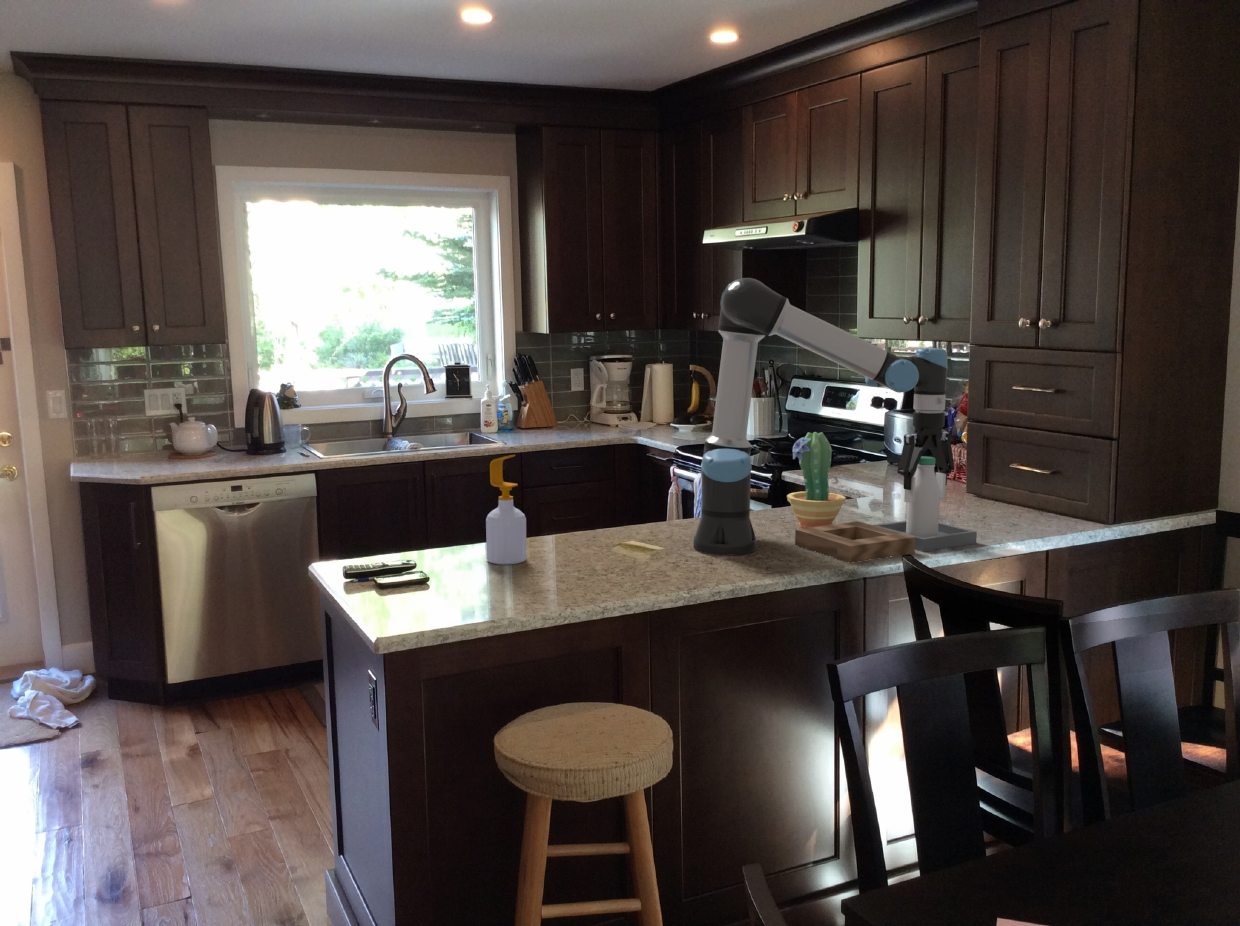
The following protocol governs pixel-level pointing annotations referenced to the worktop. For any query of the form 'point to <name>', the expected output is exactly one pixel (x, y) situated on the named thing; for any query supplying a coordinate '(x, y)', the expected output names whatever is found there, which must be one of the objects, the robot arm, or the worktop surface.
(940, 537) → the tray
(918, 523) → the milk bottle
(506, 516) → the soap bottle
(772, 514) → the worktop surface
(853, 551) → the block
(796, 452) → the potted cactus
